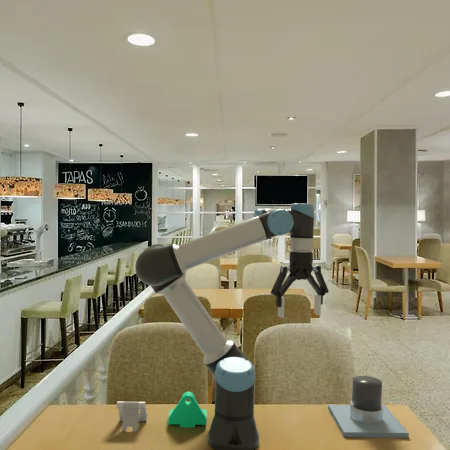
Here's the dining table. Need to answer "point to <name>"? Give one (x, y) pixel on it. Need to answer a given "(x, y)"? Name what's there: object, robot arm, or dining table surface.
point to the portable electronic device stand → (131, 414)
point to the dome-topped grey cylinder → (366, 393)
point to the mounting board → (354, 429)
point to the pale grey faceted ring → (366, 415)
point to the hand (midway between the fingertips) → (299, 315)
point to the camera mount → (187, 412)
